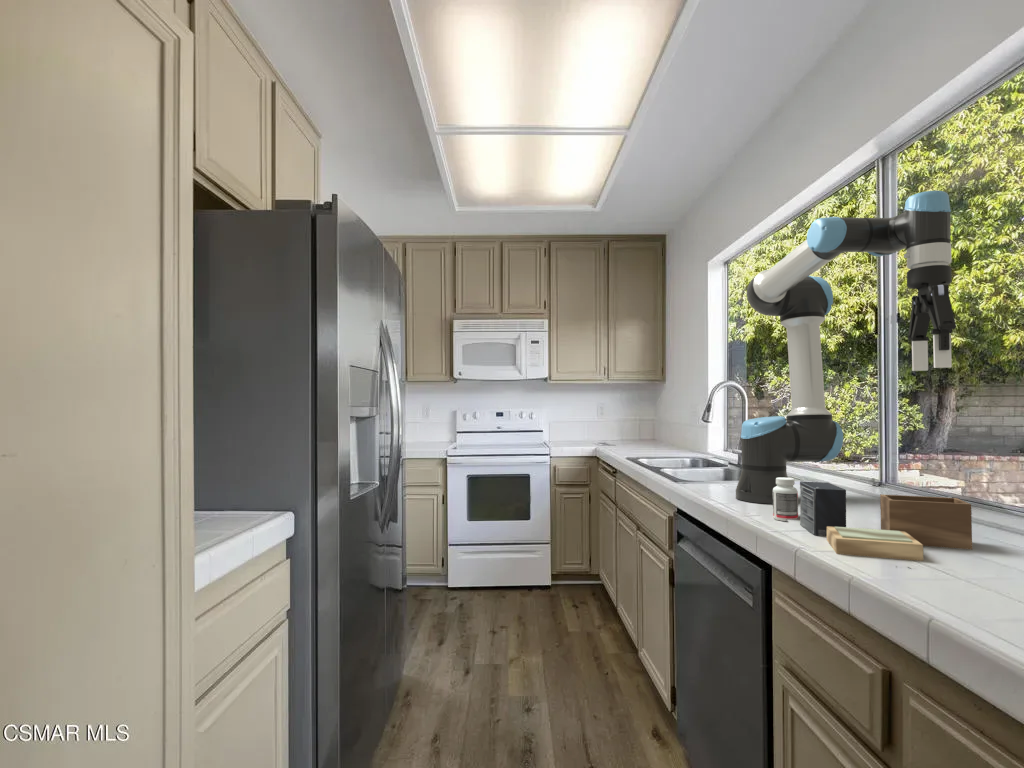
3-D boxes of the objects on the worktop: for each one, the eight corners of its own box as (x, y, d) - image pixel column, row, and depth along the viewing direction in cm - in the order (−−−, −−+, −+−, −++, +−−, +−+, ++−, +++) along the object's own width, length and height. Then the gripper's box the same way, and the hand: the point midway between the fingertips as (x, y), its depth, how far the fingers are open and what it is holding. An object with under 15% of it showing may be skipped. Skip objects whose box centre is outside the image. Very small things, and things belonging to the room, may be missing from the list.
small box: (849, 541, 115) (848, 489, 115) (814, 539, 116) (813, 488, 116) (830, 529, 125) (830, 481, 125) (799, 527, 126) (798, 480, 127)
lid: (826, 541, 113) (826, 524, 113) (905, 547, 108) (904, 529, 108) (836, 555, 103) (836, 536, 103) (923, 562, 98) (922, 543, 98)
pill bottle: (803, 521, 133) (802, 479, 133) (783, 522, 131) (783, 480, 132) (787, 516, 138) (786, 476, 138) (768, 517, 137) (767, 477, 137)
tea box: (881, 538, 116) (880, 494, 117) (957, 543, 112) (956, 498, 112) (890, 546, 110) (889, 500, 110) (972, 553, 105) (971, 504, 105)
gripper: (891, 280, 131) (893, 372, 131) (927, 255, 108) (929, 366, 107) (929, 278, 129) (931, 371, 128) (975, 251, 105) (978, 365, 105)
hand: (930, 369), depth 118 cm, fingers open, 13 cm apart
